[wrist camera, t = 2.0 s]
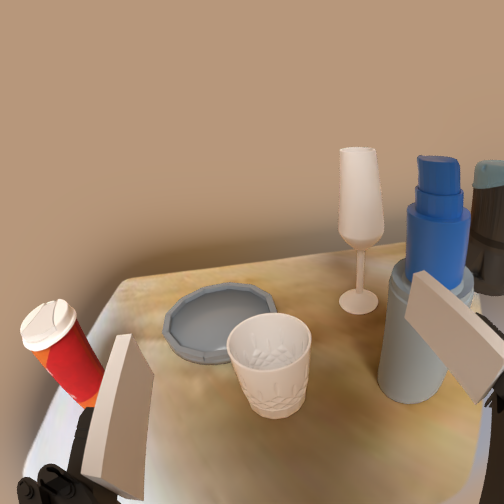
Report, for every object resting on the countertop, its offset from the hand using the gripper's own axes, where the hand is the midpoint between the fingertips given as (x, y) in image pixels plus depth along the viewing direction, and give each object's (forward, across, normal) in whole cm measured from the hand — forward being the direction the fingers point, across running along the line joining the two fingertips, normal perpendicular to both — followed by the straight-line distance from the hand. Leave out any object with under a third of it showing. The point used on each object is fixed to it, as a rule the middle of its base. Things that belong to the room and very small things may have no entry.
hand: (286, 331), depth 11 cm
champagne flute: (+23, +17, -20) cm, 35 cm away
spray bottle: (+6, +16, -19) cm, 26 cm away
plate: (+26, -6, -20) cm, 33 cm away
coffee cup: (+12, -24, -20) cm, 33 cm away
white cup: (+10, 0, -20) cm, 22 cm away
